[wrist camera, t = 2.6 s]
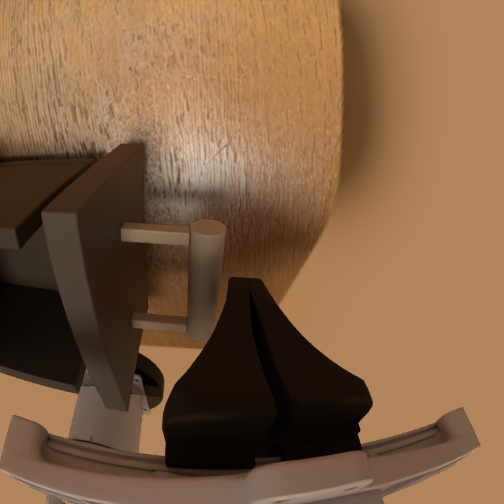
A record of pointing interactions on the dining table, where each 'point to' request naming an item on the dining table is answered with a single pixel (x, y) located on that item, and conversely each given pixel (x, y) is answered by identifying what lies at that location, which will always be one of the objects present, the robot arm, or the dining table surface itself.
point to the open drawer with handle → (90, 272)
